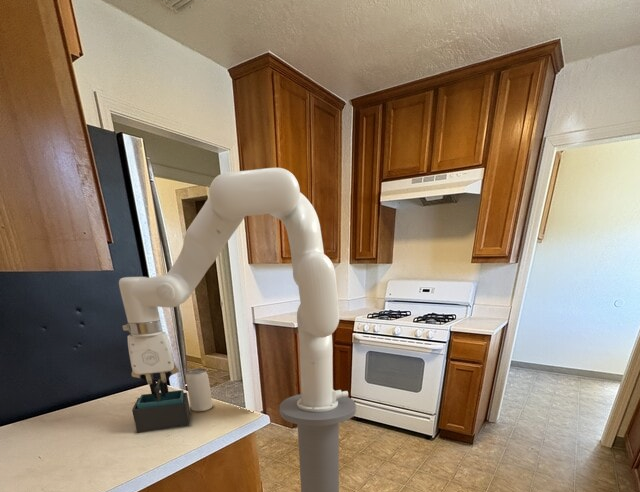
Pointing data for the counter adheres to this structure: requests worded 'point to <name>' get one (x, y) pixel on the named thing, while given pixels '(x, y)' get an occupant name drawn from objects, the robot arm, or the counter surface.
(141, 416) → the lower bin
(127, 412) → the counter surface
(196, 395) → the can
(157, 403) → the top bin
